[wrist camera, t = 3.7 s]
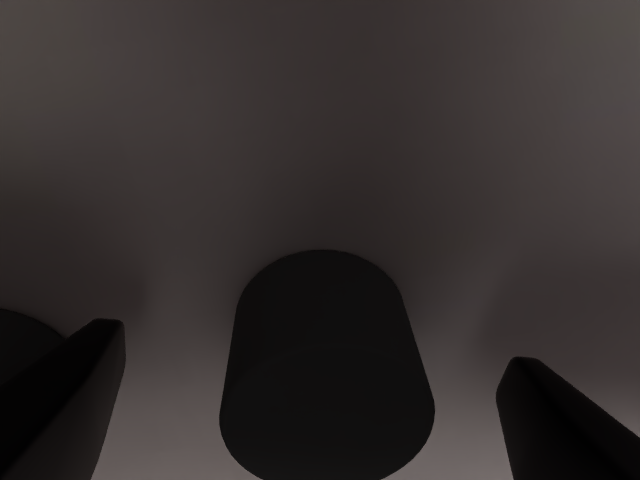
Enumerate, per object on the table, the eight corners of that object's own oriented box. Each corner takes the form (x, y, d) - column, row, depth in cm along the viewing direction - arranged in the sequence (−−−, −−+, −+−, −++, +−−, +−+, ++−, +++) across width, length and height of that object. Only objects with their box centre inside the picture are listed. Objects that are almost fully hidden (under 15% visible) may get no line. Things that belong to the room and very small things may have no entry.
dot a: (230, 374, 10) (213, 488, 8) (242, 238, 8) (226, 334, 6) (383, 386, 10) (406, 499, 8) (422, 258, 9) (464, 356, 7)
